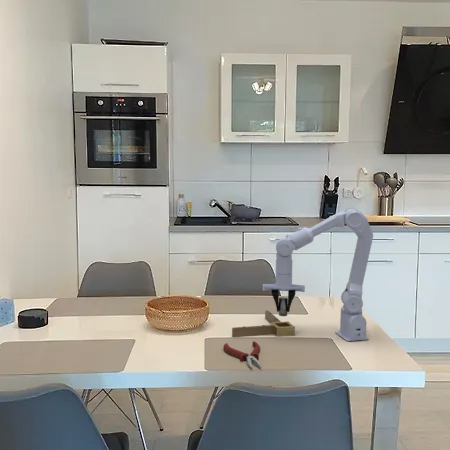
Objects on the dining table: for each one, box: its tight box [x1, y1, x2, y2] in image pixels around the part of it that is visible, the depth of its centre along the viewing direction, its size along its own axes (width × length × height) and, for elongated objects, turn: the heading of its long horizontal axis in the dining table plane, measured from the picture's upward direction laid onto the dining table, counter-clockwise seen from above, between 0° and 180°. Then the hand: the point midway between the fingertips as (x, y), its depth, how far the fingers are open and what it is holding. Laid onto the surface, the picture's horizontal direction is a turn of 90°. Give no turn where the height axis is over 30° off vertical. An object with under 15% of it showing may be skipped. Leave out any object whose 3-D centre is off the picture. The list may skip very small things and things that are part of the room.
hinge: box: [231, 310, 296, 338], centre depth 195 cm, size 22×22×3 cm
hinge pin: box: [278, 296, 288, 317], centre depth 189 cm, size 3×3×6 cm
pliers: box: [223, 341, 263, 370], centre depth 166 cm, size 12×20×3 cm, turn 13°
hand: (283, 311), depth 189 cm, fingers closed on hinge pin, 3 cm apart
